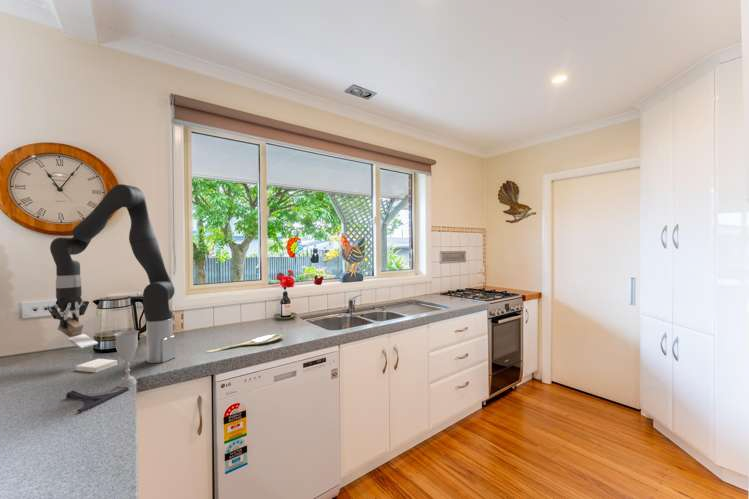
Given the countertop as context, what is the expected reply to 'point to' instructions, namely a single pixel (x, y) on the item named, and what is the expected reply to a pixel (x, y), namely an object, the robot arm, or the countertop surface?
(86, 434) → the countertop surface
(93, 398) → the bracket
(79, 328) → the turner
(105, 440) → the countertop surface
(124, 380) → the chalice
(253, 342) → the spoon
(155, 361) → the robot arm
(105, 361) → the tile
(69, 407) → the countertop surface
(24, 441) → the countertop surface
